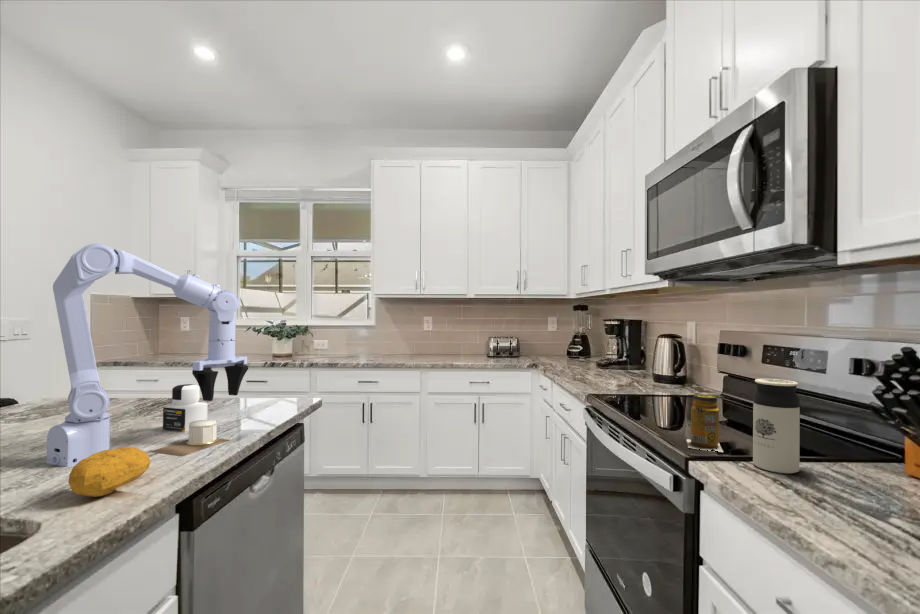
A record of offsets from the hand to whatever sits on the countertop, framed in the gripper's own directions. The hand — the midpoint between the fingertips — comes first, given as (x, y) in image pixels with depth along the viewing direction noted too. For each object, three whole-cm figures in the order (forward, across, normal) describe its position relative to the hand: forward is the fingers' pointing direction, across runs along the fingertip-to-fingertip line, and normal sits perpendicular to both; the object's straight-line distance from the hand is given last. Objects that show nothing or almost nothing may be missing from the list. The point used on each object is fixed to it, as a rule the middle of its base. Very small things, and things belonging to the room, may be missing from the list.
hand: (220, 397), depth 111 cm
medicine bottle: (+11, +4, +15) cm, 19 cm away
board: (+10, -8, 0) cm, 13 cm away
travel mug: (+11, +23, -121) cm, 124 cm away
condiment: (+11, +36, -110) cm, 116 cm away
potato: (+11, -30, -6) cm, 32 cm away
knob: (+9, -5, 0) cm, 10 cm away
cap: (+9, -5, 0) cm, 10 cm away
